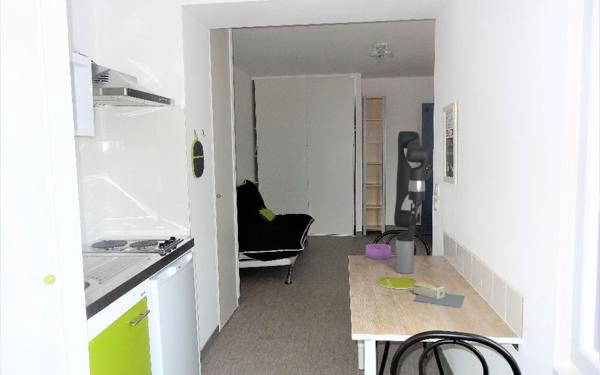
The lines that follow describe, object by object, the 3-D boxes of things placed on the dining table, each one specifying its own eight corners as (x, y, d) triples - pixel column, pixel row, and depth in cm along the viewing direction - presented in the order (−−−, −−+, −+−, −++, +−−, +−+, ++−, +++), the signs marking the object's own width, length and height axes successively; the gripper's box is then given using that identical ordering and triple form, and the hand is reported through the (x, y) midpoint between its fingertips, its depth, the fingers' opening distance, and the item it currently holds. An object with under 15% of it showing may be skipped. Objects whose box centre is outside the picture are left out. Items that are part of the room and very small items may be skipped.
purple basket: (365, 258, 270) (365, 237, 269) (366, 253, 285) (366, 232, 284) (407, 261, 265) (408, 238, 264) (406, 255, 280) (407, 234, 279)
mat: (421, 290, 208) (421, 289, 208) (464, 296, 200) (464, 295, 200) (414, 301, 194) (414, 300, 194) (460, 308, 186) (460, 307, 186)
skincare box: (437, 290, 194) (413, 283, 203) (437, 299, 194) (413, 293, 203) (445, 286, 198) (420, 281, 207) (445, 296, 199) (420, 290, 208)
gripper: (411, 188, 220) (411, 221, 221) (405, 190, 207) (404, 225, 208) (427, 189, 216) (426, 222, 218) (421, 191, 204) (420, 226, 205)
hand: (415, 224), depth 213 cm, fingers open, 8 cm apart
